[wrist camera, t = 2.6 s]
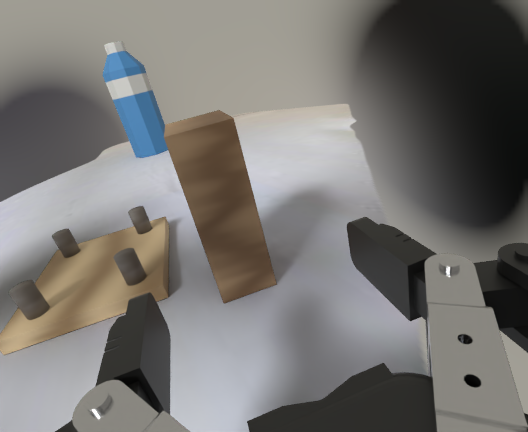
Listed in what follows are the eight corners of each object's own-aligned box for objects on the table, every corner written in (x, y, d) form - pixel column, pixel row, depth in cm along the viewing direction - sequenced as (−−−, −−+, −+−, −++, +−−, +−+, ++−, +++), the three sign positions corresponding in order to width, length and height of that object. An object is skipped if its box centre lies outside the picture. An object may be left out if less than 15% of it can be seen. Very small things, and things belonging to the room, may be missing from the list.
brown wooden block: (223, 303, 23) (164, 137, 18) (213, 261, 28) (165, 124, 23) (276, 284, 23) (233, 117, 18) (256, 246, 29) (219, 110, 23)
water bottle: (175, 148, 79) (135, 36, 69) (137, 160, 77) (90, 45, 66) (169, 143, 87) (133, 42, 77) (135, 154, 85) (92, 50, 74)
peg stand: (3, 354, 23) (-28, 316, 21) (62, 259, 35) (45, 230, 34) (168, 297, 25) (150, 258, 23) (169, 225, 37) (157, 196, 36)
